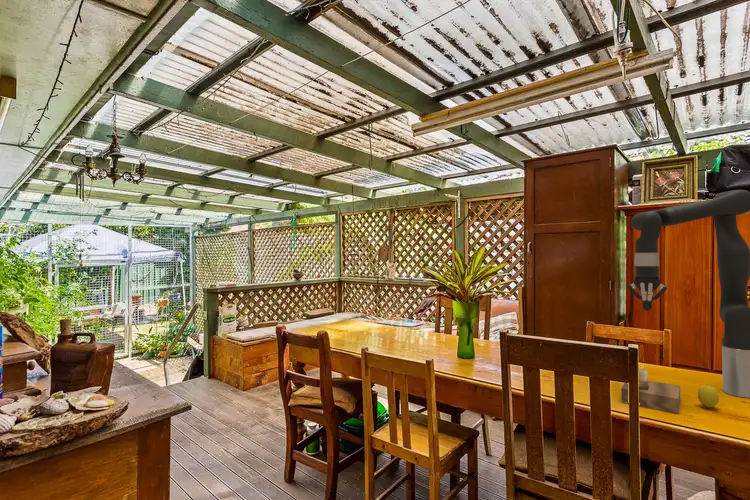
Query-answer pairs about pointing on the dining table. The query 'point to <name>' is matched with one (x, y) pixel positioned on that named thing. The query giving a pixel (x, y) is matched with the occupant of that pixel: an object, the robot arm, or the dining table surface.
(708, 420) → the dining table surface
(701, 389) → the lemon
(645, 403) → the board
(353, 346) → the dining table surface
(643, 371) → the peg
